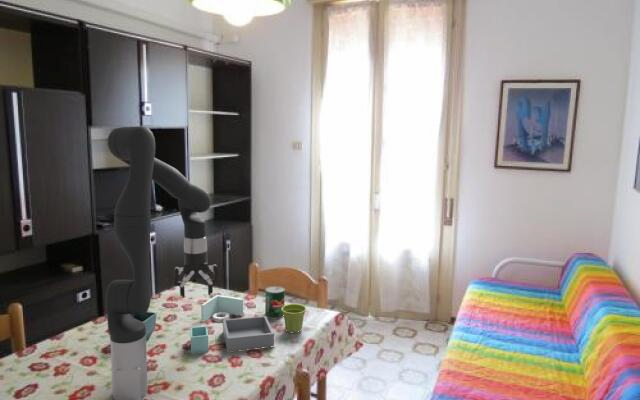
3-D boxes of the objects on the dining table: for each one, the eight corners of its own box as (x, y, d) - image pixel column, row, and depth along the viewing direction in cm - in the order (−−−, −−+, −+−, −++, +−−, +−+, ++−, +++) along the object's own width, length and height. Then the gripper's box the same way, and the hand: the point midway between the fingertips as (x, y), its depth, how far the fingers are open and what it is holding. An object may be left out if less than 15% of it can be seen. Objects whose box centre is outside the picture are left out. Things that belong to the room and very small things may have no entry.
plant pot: (276, 331, 173) (276, 309, 172) (289, 323, 181) (289, 302, 180) (297, 337, 169) (298, 315, 167) (310, 328, 177) (310, 306, 176)
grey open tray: (273, 347, 161) (274, 333, 160) (227, 352, 156) (227, 338, 155) (265, 328, 176) (265, 315, 175) (223, 332, 171) (223, 319, 170)
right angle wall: (201, 323, 180) (201, 305, 179) (217, 312, 192) (217, 295, 190) (228, 328, 177) (228, 309, 175) (243, 316, 188) (243, 298, 187)
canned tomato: (277, 320, 184) (277, 293, 182) (261, 315, 188) (261, 290, 186) (288, 313, 190) (288, 288, 189) (272, 309, 194) (273, 284, 193)
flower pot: (144, 346, 158) (143, 322, 157) (121, 343, 160) (120, 319, 159) (157, 335, 167) (157, 312, 166) (136, 333, 169) (135, 309, 167)
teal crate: (208, 352, 156) (208, 335, 155) (191, 354, 155) (191, 337, 154) (207, 341, 164) (206, 325, 163) (190, 343, 162) (190, 327, 161)
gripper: (173, 254, 148) (174, 301, 151) (218, 251, 152) (219, 297, 155) (173, 247, 155) (174, 293, 158) (216, 245, 159) (216, 289, 162)
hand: (196, 295), depth 156 cm, fingers open, 8 cm apart
